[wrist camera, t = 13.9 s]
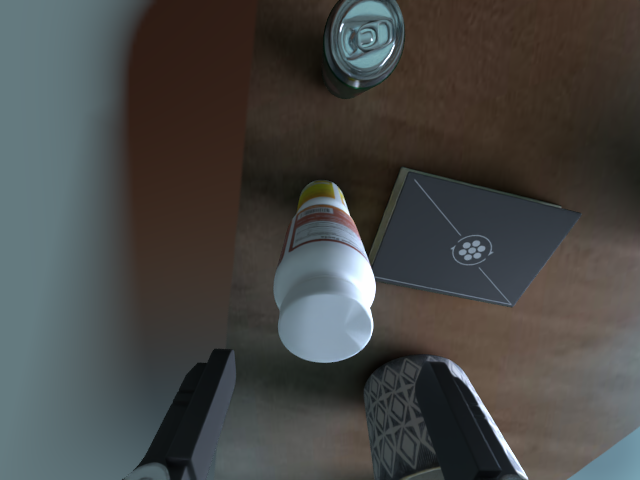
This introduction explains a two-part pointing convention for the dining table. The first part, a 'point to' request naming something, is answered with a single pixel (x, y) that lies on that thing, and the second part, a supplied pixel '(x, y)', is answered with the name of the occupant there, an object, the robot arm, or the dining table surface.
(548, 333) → the dining table surface
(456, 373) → the planter
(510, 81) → the dining table surface
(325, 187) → the supplement bottle
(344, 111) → the dining table surface
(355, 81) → the soda can
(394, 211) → the book
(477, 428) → the robot arm
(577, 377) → the dining table surface
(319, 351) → the pill bottle
